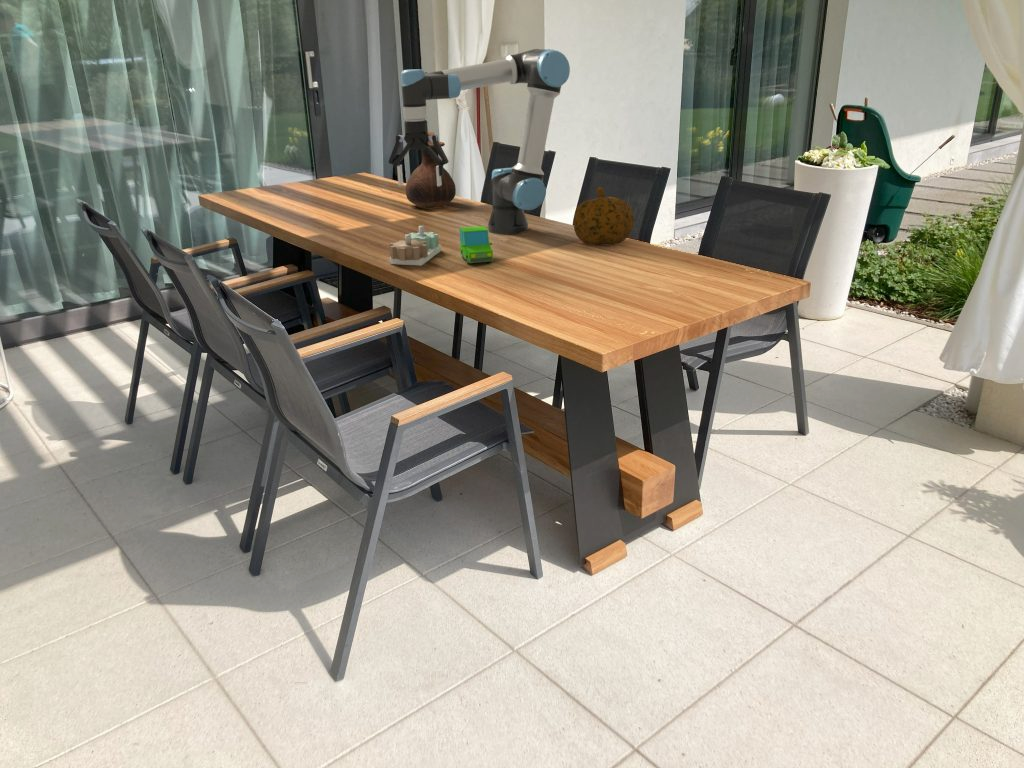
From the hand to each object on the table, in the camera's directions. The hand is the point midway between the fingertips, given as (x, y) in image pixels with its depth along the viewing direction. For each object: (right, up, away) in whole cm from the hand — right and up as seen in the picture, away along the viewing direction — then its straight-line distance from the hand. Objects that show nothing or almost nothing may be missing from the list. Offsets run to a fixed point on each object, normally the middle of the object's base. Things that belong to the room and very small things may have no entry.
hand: (420, 185), depth 281 cm
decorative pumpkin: (+63, -17, +15) cm, 67 cm away
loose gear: (0, -20, +4) cm, 20 cm away
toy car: (+20, -27, -6) cm, 33 cm away
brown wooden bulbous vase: (-4, +10, +80) cm, 81 cm away
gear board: (-2, -25, -2) cm, 25 cm away
